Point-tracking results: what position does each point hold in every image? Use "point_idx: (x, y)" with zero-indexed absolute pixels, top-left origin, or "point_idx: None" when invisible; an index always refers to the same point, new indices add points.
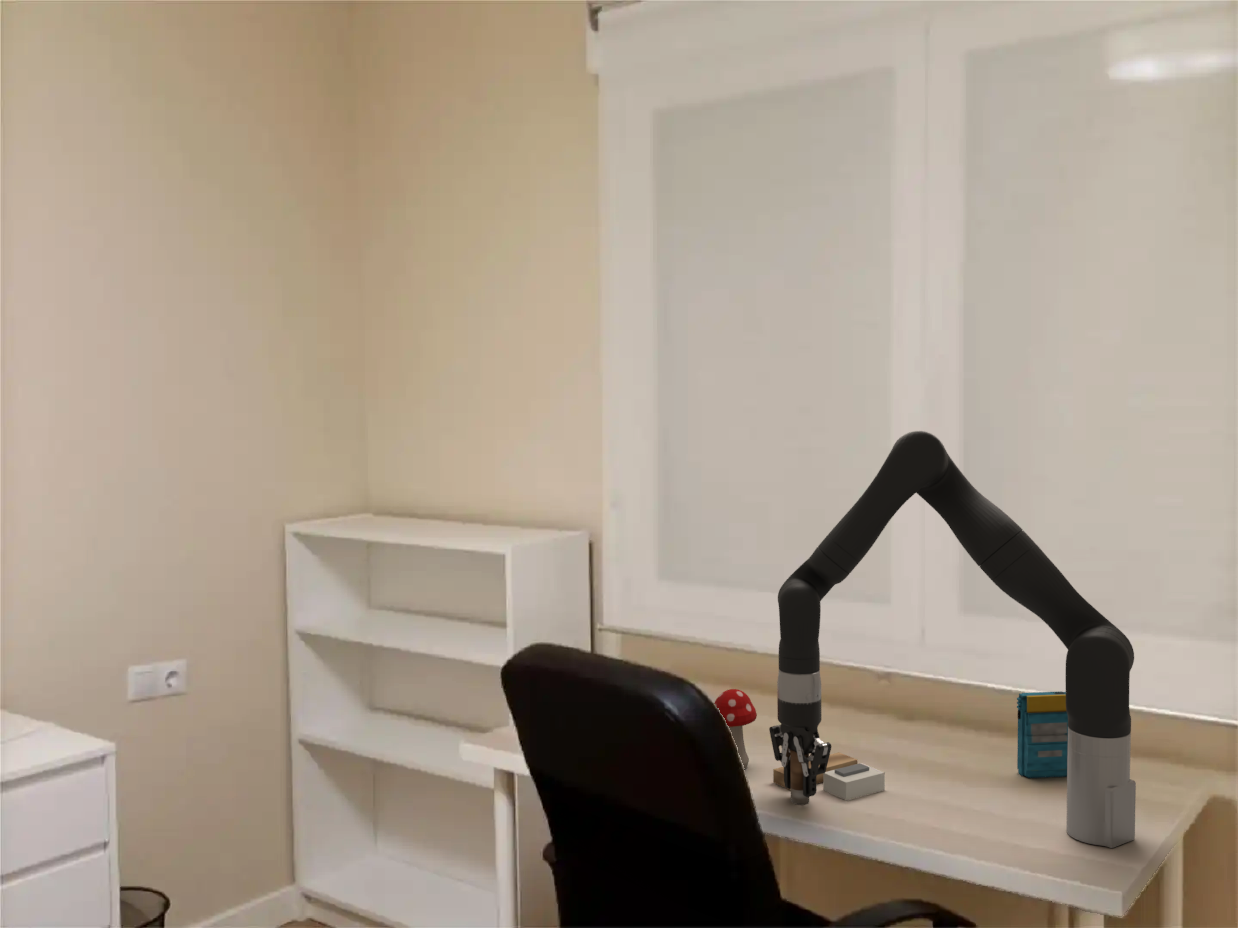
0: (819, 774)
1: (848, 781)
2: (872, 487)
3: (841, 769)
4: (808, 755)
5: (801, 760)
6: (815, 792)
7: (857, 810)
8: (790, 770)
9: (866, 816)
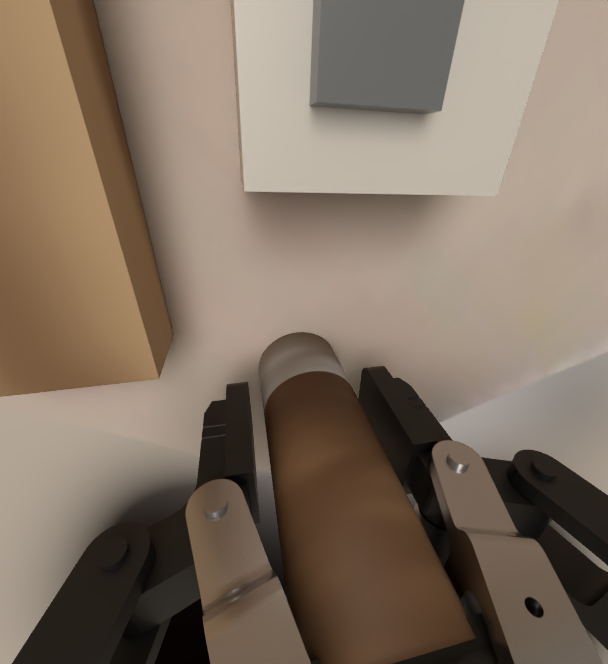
0: (93, 96)
1: (502, 164)
2: None
3: (358, 21)
4: (457, 596)
5: None
6: (401, 381)
7: (523, 228)
8: (256, 491)
9: (576, 241)
